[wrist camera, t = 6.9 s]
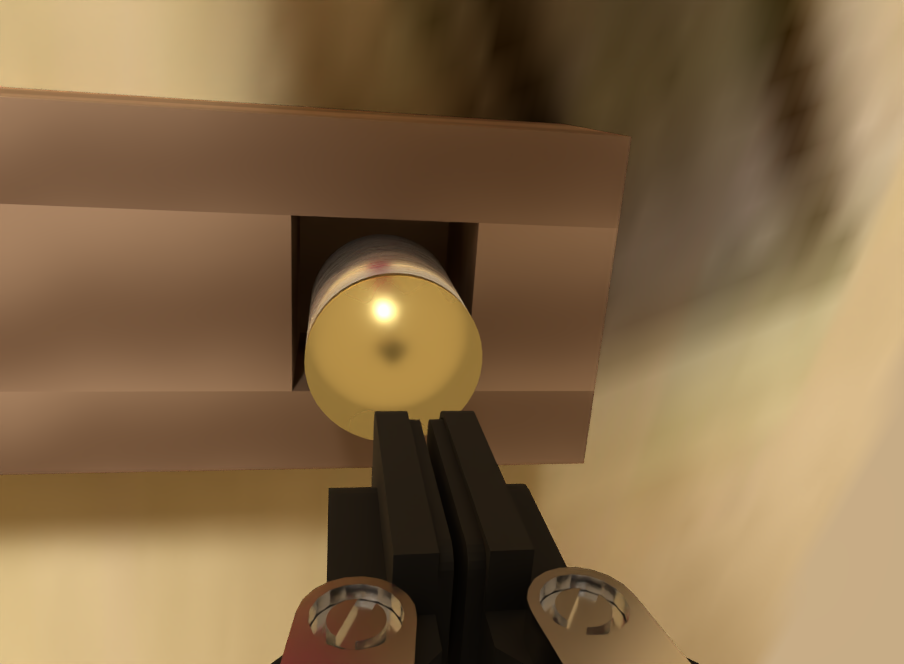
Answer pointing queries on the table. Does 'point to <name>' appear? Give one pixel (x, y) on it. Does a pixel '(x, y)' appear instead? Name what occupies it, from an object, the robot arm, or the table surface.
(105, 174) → the collar block
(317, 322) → the peg
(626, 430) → the table surface
